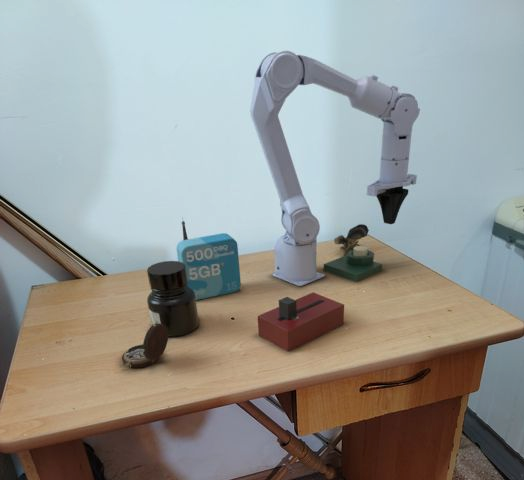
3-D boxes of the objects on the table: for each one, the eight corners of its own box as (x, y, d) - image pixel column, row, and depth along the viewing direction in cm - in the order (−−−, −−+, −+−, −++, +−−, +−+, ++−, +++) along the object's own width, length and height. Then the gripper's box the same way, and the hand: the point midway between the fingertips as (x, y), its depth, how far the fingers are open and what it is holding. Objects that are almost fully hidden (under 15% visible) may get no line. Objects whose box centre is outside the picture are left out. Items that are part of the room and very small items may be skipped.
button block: (323, 270, 110) (323, 256, 109) (351, 259, 116) (352, 245, 114) (356, 282, 104) (357, 267, 102) (385, 269, 109) (386, 255, 107)
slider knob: (279, 315, 83) (278, 300, 81) (287, 311, 84) (287, 296, 82) (288, 319, 81) (287, 304, 80) (296, 316, 82) (296, 300, 81)
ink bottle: (159, 315, 95) (148, 259, 88) (202, 314, 94) (194, 257, 88) (147, 339, 86) (134, 279, 80) (195, 338, 86) (185, 277, 80)
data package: (188, 302, 99) (180, 247, 93) (183, 294, 103) (175, 241, 97) (241, 290, 103) (237, 237, 97) (234, 283, 107) (230, 231, 100)
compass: (136, 347, 84) (128, 310, 80) (174, 354, 81) (167, 317, 78) (107, 370, 78) (97, 332, 74) (147, 379, 75) (138, 340, 71)
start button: (350, 255, 109) (350, 248, 108) (359, 252, 111) (359, 244, 110) (361, 258, 107) (361, 251, 106) (370, 255, 109) (370, 247, 108)
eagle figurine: (367, 254, 115) (375, 236, 121) (351, 230, 113) (360, 213, 118) (342, 266, 120) (351, 248, 126) (326, 244, 118) (336, 227, 124)
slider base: (258, 335, 85) (257, 315, 83) (313, 310, 93) (313, 291, 91) (288, 351, 80) (287, 330, 78) (343, 323, 87) (344, 304, 85)
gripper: (388, 165, 91) (383, 234, 98) (431, 154, 99) (423, 218, 106) (360, 162, 96) (357, 227, 103) (403, 151, 104) (397, 213, 111)
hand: (389, 222), depth 105 cm, fingers closed
